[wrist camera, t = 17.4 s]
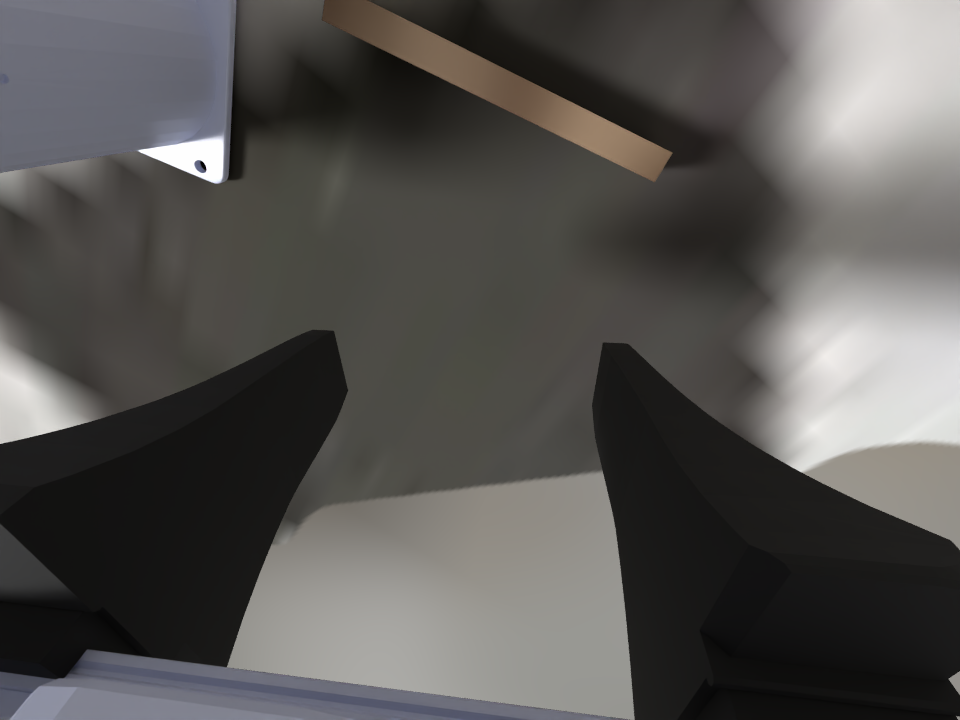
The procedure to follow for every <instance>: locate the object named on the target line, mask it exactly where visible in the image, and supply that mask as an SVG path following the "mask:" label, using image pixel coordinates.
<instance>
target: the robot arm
mask: <svg viewBox="0 0 960 720" xmlns="http://www.w3.org/2000/svg"><path fill="white" fill-rule="evenodd" d="M236 1H237V0H0V173H2V172H8V171H14V170H20V169H26V168H32V167H39V166H45V165H51V164H57V163H63V162H69V161H76V160H82V159H88V158H94V157H100V156H106V155H112V154H119V153H125V152H131V151H139V152H141V153H143V154H146V155H148V156H150V157H153V158H155V159H157V160H160V161H162V162H165V163H167V164H169V165H172V166H174V167H176V168H179V169H181V170H184V171H186V172H188V173H191V174H193V175H195V176H198V177H200V178H202V179H205V180H207V181H210V182H212V183H216V184H218V183H222V182H225V181H226V180H227V179H228V176H229V156H230V134H231V112H232V90H233V67H234V45H235V23H236ZM201 161H202V162H204V164H205V165H206V168H207V170H206V171H205V170H204V169H203V168H202V166H201V163H200V162H201ZM347 392H348V389H347V384H346V380H345V376H344V372H343V368H342V363H341V359H340V355H339V351H338V346H337V342H336V338H335V334H334V331H327V330H311V331H308V332H305V333H303V334H301V335H299V336H296V337H294V338H292V339H290V340H288V341H286V342H284V343H282V344H280V345H278V346H276V347H274V348H272V349H270V350H268V351H266V352H264V353H262V354H260V355H258V356H256V357H254V358H252V359H250V360H248V361H246V362H244V363H242V364H240V365H238V366H236V367H234V368H232V369H230V370H228V371H225V372H223V373H221V374H219V375H217V376H215V377H213V378H210V379H208V380H206V381H204V382H202V383H199V384H197V385H195V386H192V387H190V388H187V389H185V390H183V391H180V392H177V393H175V394H172V395H170V396H167V397H164V398H162V399H159V400H156V401H154V402H151V403H148V404H145V405H142V406H139V407H136V408H133V409H130V410H126V411H123V412H120V413H117V414H114V415H111V416H108V417H105V418H102V419H98V420H95V421H92V422H88V423H84V424H81V425H77V426H73V427H70V428H66V429H62V430H58V431H54V432H50V433H46V434H42V435H38V436H34V437H30V438H26V439H21V440H17V441H13V442H8V443H3V444H0V720H628V719H620V718H613V717H605V716H597V715H589V714H582V713H574V712H566V711H559V710H551V709H543V708H535V707H528V706H520V705H512V704H505V703H497V702H488V701H482V700H474V699H466V698H458V697H451V696H443V695H435V694H427V693H420V692H412V691H404V690H397V689H389V688H381V687H374V686H366V685H358V684H350V683H343V682H335V681H327V680H320V679H311V678H304V677H296V676H289V675H281V674H274V673H266V672H258V671H250V670H243V669H234V668H227V665H228V662H229V659H230V655H231V653H232V650H233V647H234V643H235V641H236V638H237V635H238V631H239V628H240V626H241V622H242V619H243V617H244V614H245V611H246V608H247V606H248V603H249V600H250V597H251V595H252V592H253V590H254V587H255V584H256V582H257V579H258V576H259V573H260V571H261V568H262V566H263V564H264V561H265V558H266V556H267V554H268V551H269V549H270V547H271V544H272V542H273V539H274V537H275V534H276V532H277V530H278V528H279V525H280V523H281V521H282V519H283V516H284V514H285V512H286V510H287V508H288V505H289V503H290V501H291V499H292V497H293V495H294V493H295V491H296V490H297V488H298V486H299V484H300V482H301V481H302V479H303V477H304V476H305V474H306V472H307V470H308V469H309V467H310V465H311V464H312V462H313V460H314V458H315V457H316V455H317V453H318V452H319V450H320V448H321V447H322V445H323V443H324V441H325V440H326V438H327V436H328V434H329V433H330V431H331V429H332V427H333V425H334V424H335V422H336V420H337V417H338V415H339V413H340V410H341V408H342V405H343V403H344V400H345V397H346V394H347ZM592 409H593V421H594V431H595V439H596V444H597V448H598V452H599V457H600V461H601V465H602V470H603V474H604V478H605V481H606V486H607V491H608V494H609V499H610V503H611V508H612V512H613V517H614V522H615V527H616V534H617V542H618V550H619V558H620V566H621V575H622V584H623V593H624V602H625V611H626V621H627V633H628V642H629V654H630V665H631V678H632V689H633V702H634V703H633V704H634V716H635V720H958V719H957V717H956V716H960V695H959V694H958V692H957V691H956V689H955V688H954V686H953V685H952V684H951V682H950V681H949V678H950V677H951V676H953V675H955V674H956V673H957V672H959V671H960V550H959V549H958V548H957V547H956V546H955V544H954V543H952V541H950V540H948V539H946V538H943V537H941V536H939V535H937V534H934V533H932V532H929V531H927V530H925V529H922V528H920V527H918V526H915V525H913V524H911V523H908V522H906V521H904V520H901V519H899V518H896V517H894V516H892V515H889V514H887V513H885V512H882V511H880V510H878V509H875V508H873V507H870V506H868V505H866V504H864V503H862V502H860V501H858V500H855V499H853V498H851V497H849V496H847V495H845V494H843V493H841V492H838V491H837V490H835V489H833V488H831V487H829V486H827V485H824V484H822V483H820V482H818V481H817V480H815V479H813V478H811V477H809V476H807V475H805V474H803V473H801V472H799V471H797V470H796V469H794V468H792V467H790V466H788V465H787V464H785V463H783V462H781V461H780V460H778V459H776V458H774V457H773V456H771V455H769V454H767V453H766V452H764V451H762V450H761V449H759V448H757V447H756V446H754V445H752V444H751V443H749V442H748V441H746V440H744V439H743V438H742V437H740V436H739V435H737V434H736V433H734V432H733V431H731V430H730V429H728V428H727V427H725V426H724V425H722V424H721V423H719V422H718V421H717V420H715V419H714V418H712V417H711V416H710V415H708V414H707V413H706V412H704V411H703V410H702V409H701V408H699V407H698V406H697V405H696V404H694V403H693V402H692V401H691V400H689V399H688V398H687V397H686V396H684V395H683V394H682V393H681V392H680V391H678V390H677V389H676V388H675V387H674V386H673V385H672V384H670V383H669V382H668V381H667V380H666V379H665V378H664V377H663V376H662V375H661V374H659V373H658V372H657V371H656V370H655V369H654V368H653V367H652V366H651V365H650V364H649V363H648V362H647V361H646V360H645V359H644V358H643V357H642V356H640V355H639V354H638V353H637V352H636V351H635V350H634V349H633V348H632V347H631V346H630V345H629V344H624V343H603V345H602V351H601V357H600V363H599V368H598V374H597V380H596V385H595V391H594V397H593V403H592Z"/></svg>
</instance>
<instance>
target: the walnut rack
mask: <svg viewBox="0 0 960 720" xmlns="http://www.w3.org/2000/svg"><path fill="white" fill-rule="evenodd" d="M322 20H323V21H325V22H327V23H329V24H331V25H333V26H335V27H337V28H339V29H341V30H343V31H345V32H347V33H349V34H351V35H353V36H355V37H357V38H360V39H362V40H364V41H366V42H368V43H370V44H372V45H374V46H376V47H378V48H380V49H382V50H384V51H386V52H388V53H390V54H392V55H394V56H397V57H399V58H401V59H403V60H405V61H407V62H409V63H411V64H413V65H415V66H417V67H419V68H421V69H423V70H425V71H427V72H429V73H431V74H433V75H436V76H438V77H440V78H442V79H444V80H446V81H448V82H450V83H452V84H454V85H456V86H458V87H460V88H462V89H464V90H466V91H468V92H470V93H473V94H475V95H477V96H479V97H481V98H483V99H485V100H487V101H489V102H491V103H493V104H495V105H497V106H499V107H501V108H503V109H505V110H507V111H509V112H512V113H514V114H516V115H518V116H520V117H522V118H524V119H526V120H528V121H530V122H532V123H534V124H536V125H538V126H540V127H542V128H544V129H546V130H549V131H551V132H553V133H555V134H557V135H559V136H561V137H563V138H565V139H567V140H569V141H571V142H573V143H575V144H577V145H579V146H581V147H583V148H586V149H588V150H590V151H592V152H594V153H596V154H598V155H600V156H602V157H604V158H606V159H608V160H610V161H612V162H614V163H616V164H618V165H620V166H622V167H625V168H627V169H629V170H631V171H633V172H635V173H637V174H639V175H641V176H643V177H645V178H647V179H649V180H651V181H653V182H655V181H656V179H657V177H658V176H659V174H660V173H661V171H662V169H663V168H664V166H665V164H666V163H667V161H668V160H669V158H670V156H671V155H672V152H670V151H668V150H666V149H664V148H662V147H660V146H658V145H656V144H654V143H652V142H650V141H648V140H646V139H644V138H642V137H640V136H638V135H636V134H634V133H632V132H630V131H628V130H626V129H624V128H622V127H620V126H618V125H616V124H614V123H612V122H610V121H608V120H606V119H604V118H602V117H600V116H598V115H596V114H594V113H592V112H590V111H588V110H586V109H584V108H582V107H580V106H578V105H576V104H574V103H572V102H570V101H568V100H566V99H564V98H562V97H560V96H558V95H556V94H554V93H552V92H550V91H548V90H546V89H544V88H542V87H540V86H538V85H536V84H534V83H532V82H530V81H528V80H526V79H524V78H522V77H520V76H518V75H516V74H514V73H512V72H510V71H508V70H506V69H504V68H502V67H500V66H498V65H496V64H494V63H492V62H490V61H488V60H486V59H484V58H482V57H480V56H478V55H476V54H474V53H472V52H470V51H468V50H466V49H464V48H462V47H460V46H458V45H456V44H454V43H452V42H450V41H448V40H446V39H444V38H442V37H440V36H438V35H436V34H434V33H432V32H430V31H428V30H426V29H424V28H422V27H420V26H418V25H416V24H414V23H412V22H410V21H408V20H406V19H404V18H402V17H400V16H398V15H396V14H394V13H392V12H390V11H388V10H386V9H384V8H382V7H380V6H378V5H376V4H374V3H372V2H370V1H368V0H325V2H324V9H323V16H322Z"/></svg>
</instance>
